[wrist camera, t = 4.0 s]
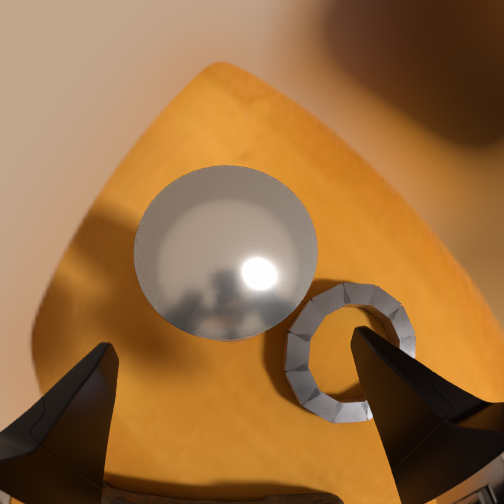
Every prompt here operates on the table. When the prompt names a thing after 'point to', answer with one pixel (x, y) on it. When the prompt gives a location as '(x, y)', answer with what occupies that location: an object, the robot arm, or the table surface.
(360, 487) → the table surface
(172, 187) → the silver metal cylinder
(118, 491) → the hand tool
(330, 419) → the ring
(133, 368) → the table surface
